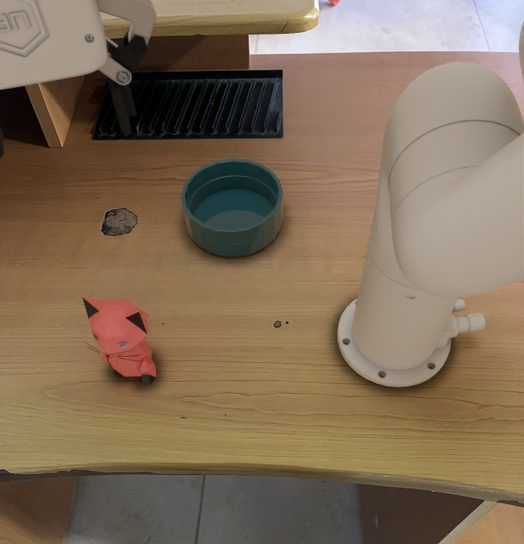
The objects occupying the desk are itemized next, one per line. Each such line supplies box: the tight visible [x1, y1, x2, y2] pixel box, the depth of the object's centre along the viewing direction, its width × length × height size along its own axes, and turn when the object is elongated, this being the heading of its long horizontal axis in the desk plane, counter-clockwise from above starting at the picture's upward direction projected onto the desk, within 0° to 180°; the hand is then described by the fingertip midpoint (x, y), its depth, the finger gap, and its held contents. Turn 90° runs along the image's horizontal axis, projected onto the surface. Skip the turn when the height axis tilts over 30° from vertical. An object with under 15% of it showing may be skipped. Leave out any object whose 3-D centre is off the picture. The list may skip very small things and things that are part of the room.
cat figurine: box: [82, 296, 157, 386], centre depth 59 cm, size 7×7×12 cm
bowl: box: [180, 158, 284, 258], centre depth 73 cm, size 13×13×5 cm
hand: (62, 134), depth 44 cm, fingers open, 9 cm apart
